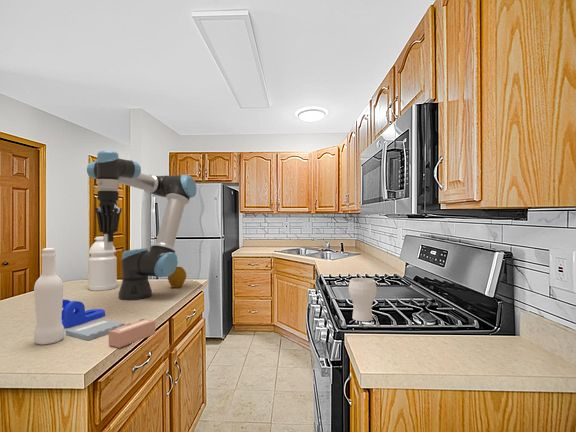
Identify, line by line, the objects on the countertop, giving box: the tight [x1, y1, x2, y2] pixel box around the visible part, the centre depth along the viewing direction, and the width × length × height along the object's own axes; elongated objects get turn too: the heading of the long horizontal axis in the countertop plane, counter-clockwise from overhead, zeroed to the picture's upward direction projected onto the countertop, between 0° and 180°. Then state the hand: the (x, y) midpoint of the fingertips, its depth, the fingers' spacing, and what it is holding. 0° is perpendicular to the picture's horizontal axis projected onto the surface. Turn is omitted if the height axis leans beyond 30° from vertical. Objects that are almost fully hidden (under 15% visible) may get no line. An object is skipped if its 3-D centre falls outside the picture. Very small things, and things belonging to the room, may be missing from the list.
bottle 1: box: [33, 247, 65, 346], centre depth 116 cm, size 8×8×30 cm
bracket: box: [62, 299, 106, 330], centre depth 139 cm, size 18×8×9 cm, turn 158°
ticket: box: [65, 319, 126, 341], centre depth 126 cm, size 14×12×2 cm
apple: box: [167, 266, 187, 289], centre depth 198 cm, size 10×10×12 cm
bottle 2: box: [87, 235, 118, 292], centre depth 195 cm, size 14×14×28 cm
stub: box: [108, 318, 156, 349], centre depth 117 cm, size 14×5×5 cm, turn 153°
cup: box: [348, 277, 378, 322], centre depth 140 cm, size 11×11×15 cm
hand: (108, 250), depth 143 cm, fingers closed
